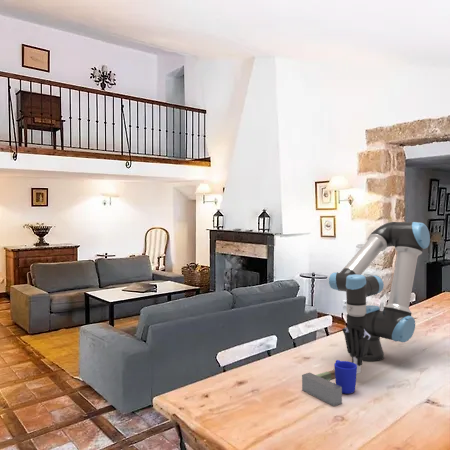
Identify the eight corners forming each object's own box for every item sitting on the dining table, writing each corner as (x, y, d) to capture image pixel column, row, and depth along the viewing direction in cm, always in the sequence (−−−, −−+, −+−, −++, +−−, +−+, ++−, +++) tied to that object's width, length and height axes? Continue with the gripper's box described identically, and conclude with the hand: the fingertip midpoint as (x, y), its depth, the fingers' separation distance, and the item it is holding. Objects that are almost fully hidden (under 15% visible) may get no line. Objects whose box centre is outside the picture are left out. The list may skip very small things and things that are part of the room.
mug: (347, 381, 170) (347, 356, 169) (360, 394, 158) (360, 368, 157) (327, 383, 169) (327, 358, 168) (339, 396, 157) (339, 369, 156)
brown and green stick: (305, 384, 167) (305, 377, 167) (356, 368, 183) (356, 362, 183) (309, 386, 165) (309, 379, 165) (361, 369, 182) (361, 363, 181)
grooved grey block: (302, 390, 162) (302, 374, 162) (311, 387, 165) (310, 372, 164) (333, 406, 149) (333, 389, 149) (343, 403, 151) (342, 386, 151)
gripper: (337, 312, 172) (338, 369, 174) (363, 319, 161) (364, 380, 163) (349, 309, 176) (350, 365, 178) (376, 315, 165) (377, 375, 167)
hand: (357, 372), depth 170 cm, fingers closed
